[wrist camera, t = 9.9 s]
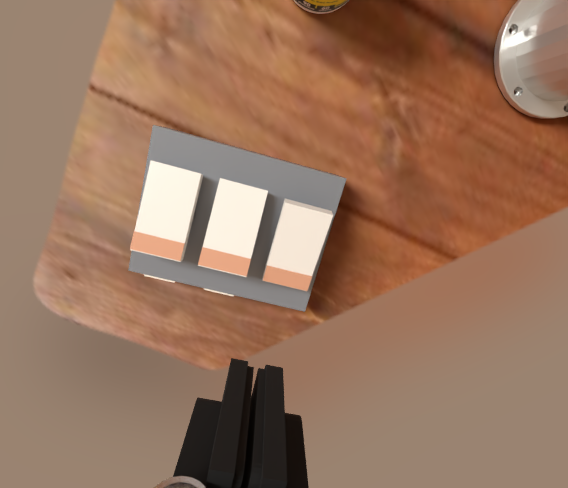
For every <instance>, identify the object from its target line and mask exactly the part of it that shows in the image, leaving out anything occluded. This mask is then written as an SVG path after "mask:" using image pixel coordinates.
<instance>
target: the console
mask: <svg viewBox="0 0 568 488" xmlns="http://www.w3.org/2000/svg"><path fill="white" fill-rule="evenodd" d="M151 160H152V161H156V162H159V163H163V164H167V165H171V166H174V167H178V168H182V169H186V170H189V171H193V172H197V173H200V174H203V179H202V183H201V187H200V191H199V195H198V200H197V204H196V208H195V212H194V216H193V220H192V225H191V229H190V233H189V237H188V241H187V246H186V250H185V254H184V258H183V260H182V261H181V262H179V261H174V260H170V259H166V258H162V257H158V256H154V255H149V254H145V253H141V252H137V251H133V250H132V252H131V258H130V264H129V271H133V272H137V273H141V274H144V276H148V277H152V278H156V279H161V280H165V281H169V282H173V283H175V281H176V282H180V283H184V284H189V285H193V286H197V287H201V288H204V290H208V291H212V292H216V293H221V294H225V295H229V296H234V295H236V296H240V297H244V298H249V299H253V300H257V301H261V302H266V303H270V304H274V305H278V306H283V307H287V308H291V309H296V310H300V311H304V312H305V310H306V306H307V303H308V300H309V297H310V294H311V290H312V287H313V284H314V281H315V278H316V274H317V271H318V268H319V265H320V262H321V258H322V255H323V252H324V249H325V246H326V242H327V239H328V236H329V233H330V230H331V226H332V223H333V220H334V217H335V214H336V210H337V207H338V204H339V201H340V198H341V194H342V191H343V188H344V185H345V182H346V178H343V177H341V176H338V175H335V174H331V173H328V172H324V171H320V170H317V169H313V168H310V167H306V166H302V165H299V164H295V163H292V162H288V161H285V160H281V159H277V158H274V157H270V156H267V155H263V154H259V153H256V152H252V151H249V150H245V149H241V148H238V147H234V146H231V145H227V144H224V143H220V142H216V141H213V140H209V139H206V138H202V137H198V136H195V135H191V134H188V133H184V132H180V131H177V130H173V129H170V128H166V127H161V126H156V125H153V128H152V134H151V140H150V146H149V152H148V158H147V164H146V170H145V175H144V181H143V187H142V193H141V199H140V205H141V201H142V196H143V192H144V187H145V183H146V179H147V174H148V170H149V165H150V161H151ZM220 178H222V179H226V180H229V181H233V182H237V183H241V184H244V185H248V186H252V187H256V188H259V189H263V190H267V191H268V194H267V198H266V201H265V205H264V209H263V213H262V217H261V221H260V225H259V229H258V233H257V237H256V241H255V245H254V249H253V253H252V257H251V261H250V265H249V269H248V273H247V277H243V276H239V275H235V274H231V273H227V272H222V271H218V270H214V269H210V268H206V267H202V266H198V262H199V258H200V254H201V250H202V247H203V243H204V239H205V235H206V231H207V227H208V223H209V220H210V216H211V212H212V208H213V204H214V200H215V196H216V192H217V188H218V184H219V180H220ZM285 199H289V200H293V201H296V202H300V203H304V204H308V205H311V206H315V207H319V208H322V209H326V210H330V211H332V213H333V218H332V221H331V224H330V226H329V229H328V232H327V235H326V238H325V241H324V244H323V246H322V249H321V252H320V255H319V258H318V261H317V264H316V266H315V269H314V272H313V275H312V279H311V282H310V285H309V287H308V290H307V291H304V290H300V289H295V288H291V287H287V286H283V285H279V284H275V283H270V282H266V281H262V280H263V273H264V270H265V266H266V263H267V259H268V256H269V252H270V249H271V245H272V242H273V238H274V235H275V231H276V228H277V224H278V221H279V217H280V214H281V210H282V207H283V203H284V200H285ZM140 205H139V210H140ZM138 214H139V211H138ZM137 218H138V217H137Z"/></svg>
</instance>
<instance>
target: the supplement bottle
mask: <svg viewBox="0 0 568 488" xmlns="http://www.w3.org/2000/svg"><path fill="white" fill-rule="evenodd" d="M293 1H294V2H295V3H296V4H297V5H298V6H300V7H301V8H302V9H304V10H306V11H308V12H311V13H316V14H325V13H330V12H333V11H335V10H337V9H339V8H341V7H342V6H344V5H345V4H346V3H347V2H348V1H349V0H293Z"/></svg>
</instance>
